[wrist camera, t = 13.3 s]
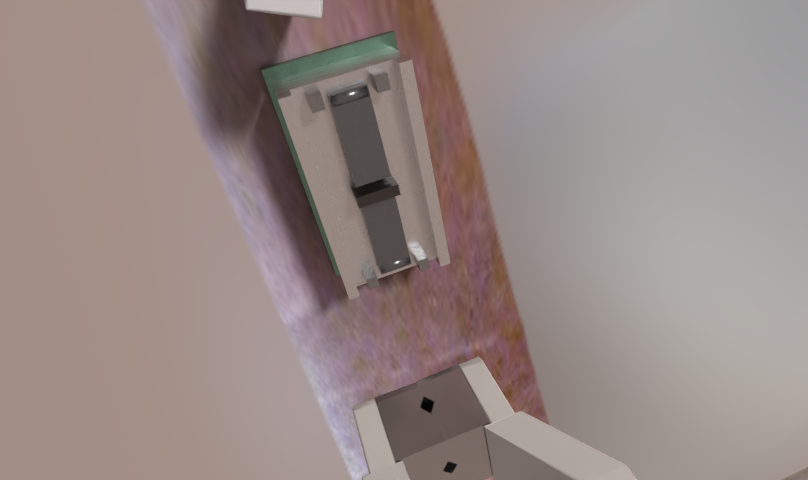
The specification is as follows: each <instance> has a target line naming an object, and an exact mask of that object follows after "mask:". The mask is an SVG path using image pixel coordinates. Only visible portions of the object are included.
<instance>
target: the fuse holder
mask: <svg viewBox="0 0 808 480" xmlns="http://www.w3.org/2000/svg"><path fill="white" fill-rule="evenodd" d="M261 72H262V74H263V77H264V80H265V82H266V85H267V88H268V91H269V93H270V96H271V99H272V102H273V104H274V107H275V110H276V113H277V115H278V118H279V121H280V123H281V126H282V129H283V132H284V134H285V137H286V140H287V143H288V145H289V148H290V151H291V153H292V156H293V159H294V162H295V164H296V167H297V170H298V173H299V175H300V178H301V181H302V184H303V186H304V189H305V192H306V194H307V197H308V200H309V203H310V205H311V208H312V211H313V214H314V216H315V219H316V222H317V225H318V227H319V230H320V233H321V235H322V238H323V241H324V244H325V246H326V249H327V252H328V255H329V257H330V260H331V263H332V265H333V268H334V271H335V274H336V276H339V275H341V277H342V280H343V283H344V286H345V288H346V291H347V294H348V297H349V300H351V299H354V298H356V297H359V296H360V295H359V292H358V289H357V286H360V285H363V284H365V283H367V285H368V287H369V290H370V289H373V288H376V287H379V286H380V285H379V282H378V279H379V278H382V277H385V276H387V275H390V274H393V273H396V272H399V271H401V270H404V269H407V268H410V267H412V266H415V265H417V266H418V268H419V270H420V271H423V270H425V269H428V268H430V264H429V260H432V259H436V261H437V262H438V264H439V265H440V267H441V266H444V265H447V264H450V259H449V253H448V248H447V243H446V237H445V232H444V227H443V221H442V216H441V211H440V206H439V200H438V195H437V190H436V184H435V179H434V174H433V168H432V163H431V158H430V153H429V147H428V142H427V137H426V131H425V126H424V121H423V116H422V110H421V105H420V100H419V94H418V89H417V84H416V78H415V73H414V68H413V63H412V59H410V58H409V57H407V56H406V55H404V54H403V53H401V52H399V51H398V48H397V43H396V38H395V33H394V31H389V32H386V33H382V34H379V35H375V36H372V37H368V38H365V39H361V40H358V41H355V42H351V43H348V44H344V45H341V46H337V47H334V48H330V49H327V50H323V51H320V52H316V53H313V54H309V55H306V56H303V57H299V58H296V59H292V60H289V61H285V62H282V63H278V64H275V65H271V66H268V67H264V68H261ZM364 82H365V83H367V85H368V89H369V93H370V97H371V100H372V104H373V108H374V112H375V116H376V120H377V124H378V128H379V131H380V135H381V139H382V143H383V147H384V151H385V155H386V158H387V162H388V166H389V170H390V174H391V176H389V177H386V178H383V179H380V180H377V181H374V182H371V183H368V184H365V185H362V186H359V187H355V185H354V182H353V179H352V176H351V172H350V169H349V166H348V162H347V159H346V156H345V153H344V149H343V146H342V143H341V139H340V136H339V133H338V130H337V126H336V123H335V120H334V116H333V113H332V110H331V107H330V103H329V100H328V97H327V94H328V93H331V92H334V91H337V90H341V89H344V88H347V87H351V86H354V85H357V84H361V83H364ZM392 197H396V201H397V205H398V210H399V214H400V218H401V222H402V226H403V230H404V234H405V238H406V243H407V247H408V251H409V255H410V259H411V263H412V264H410V265H407V266H404V267H402V268H399V269H396V270H393V271H391V272H388V273H385V274H382V275H381V273H380V271H379V268H378V264H377V261H376V258H375V254H374V251H373V247H372V244H371V241H370V237H369V234H368V231H367V227H366V224H365V220H364V217H363V214H362V210H361V208H363V207H366V206H369V205H372V204H375V203H378V202H380V201H383V200H386V199H389V198H392Z"/></svg>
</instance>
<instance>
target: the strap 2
mask: <svg viewBox="0 0 808 480" xmlns="http://www.w3.org/2000/svg"><path fill="white" fill-rule="evenodd" d="M361 210H362V214H363V217H364V220H365V224H366V227H367V231H368V234H369V237H370V241H371V244H372V247H373V251H374V254H375V258H376V261H377V264H378V268H379V271H380V273H381V275H382V274H385V273H388V272H391V271H393V270H396V269H399V268H402V267H404V266H407V265H410V264H412V263H411V259H410V255H409V251H408V247H407V243H406V238H405V234H404V230H403V226H402V222H401V218H400V214H399V210H398V205H397V201H396V197H392V198H389V199H386V200H383V201H380V202H378V203H375V204H372V205H369V206H366V207H363V208H361Z"/></svg>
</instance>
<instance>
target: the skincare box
mask: <svg viewBox="0 0 808 480" xmlns="http://www.w3.org/2000/svg"><path fill="white" fill-rule="evenodd" d="M244 3H245V8H246V10H250V11H257V12H264V13H271V14H279V15H286V16H294V17H302V18H310V19H321V17H322V9H323V0H244Z"/></svg>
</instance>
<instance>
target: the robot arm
mask: <svg viewBox="0 0 808 480" xmlns="http://www.w3.org/2000/svg"><path fill="white" fill-rule="evenodd" d="M353 414H354V418H355V422H356V426H357V429H358V433H359V437H360V441H361V444H362V448H363V452H364V456H365V460H366V463H367V467H368V471H369V474H368V475H366V476H363V478H362V480H484V479H487V478H489V477H492V476H493V478H494V479H496V480H637V479H636V477H635V476H634V475H633V473H632V472H631V471H630V469H629V468H628V467H627V466H626V465H625V464H623V463H621V462H619V461H617V460H615V459H613V458H611V457H609V456H607V455H606V454H603V453H602V452H600V451H598V450H596V449H594V448H592V447H590V446H588V445H586V444H584V443H582V442H580V441H578V440H577V439H575V438H573V437H571V436H569V435H567V434H565V433H563V432H561V431H559V430H557V429H555V428H553V427H551V426H549V425H547V424H545V423H544V422H542V421H540V420H538V419H536V418H534V417H532V416H530V415H528V414H526V413H524V412H522V411H519V412H517V413H514V411H513V409H512V408H511V406H510V405H509V403H508V401H507V400H506V398H505V396H504V395H503V393H502V392H501V390H500V388H499V387H498V385H497V383H496V382H495V380H494V378H493V377H492V375H491V374H490V372H489V370H488V369H487V367H486V365H485V364H484V362H483V361H482V359H480V358H479V357H476V358H474V359H471V360H469V361H466V362H464V363H461V364H459V365H458V366H457V365H455V366H453V367H450V368H448V369H445V370H443V371H440V372H438V373H436V374H433V375H431V376H428V377H426V378H423V379H421V380H418V381H416V383H413V384H410V385H408V386H405V387H402V388H399V389H397V390H394V391H391V392H388V393H386V394H383V395H380V396H377V397H375V398H372V399H370V400H367V401H364V402H362V403H359V404H357V405H354V406H353ZM782 480H808V467H807V468H805V469H803V470H801V471H799V472H797V473H795V474H793V475H791V476H789V477H786V478H785V479H782Z"/></svg>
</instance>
